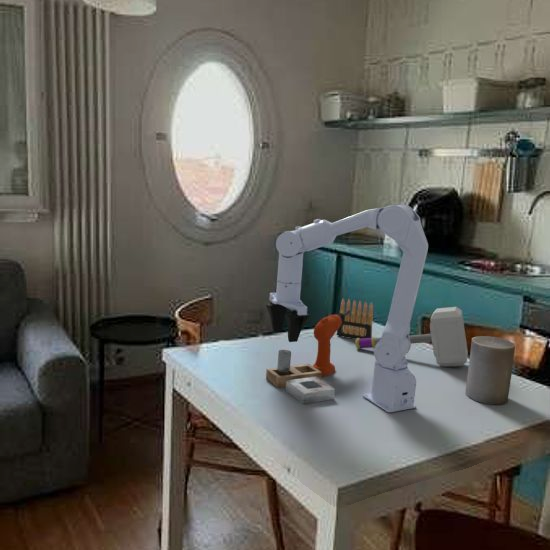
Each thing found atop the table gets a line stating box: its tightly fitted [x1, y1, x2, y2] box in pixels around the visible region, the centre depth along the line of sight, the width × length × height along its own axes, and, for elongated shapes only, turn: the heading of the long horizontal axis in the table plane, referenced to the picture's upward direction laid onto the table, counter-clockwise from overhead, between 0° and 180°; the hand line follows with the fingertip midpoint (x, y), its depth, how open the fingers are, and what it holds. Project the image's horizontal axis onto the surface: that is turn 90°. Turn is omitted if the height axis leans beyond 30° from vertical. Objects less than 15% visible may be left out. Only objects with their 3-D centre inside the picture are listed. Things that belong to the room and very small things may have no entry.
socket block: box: [285, 377, 336, 405], centre depth 128 cm, size 8×8×2 cm
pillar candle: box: [465, 335, 516, 406], centre depth 133 cm, size 10×10×15 cm
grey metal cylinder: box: [276, 349, 292, 376], centre depth 135 cm, size 3×3×8 cm
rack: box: [265, 363, 323, 388], centre depth 136 cm, size 12×6×2 cm, turn 118°
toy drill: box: [312, 309, 351, 377], centre depth 146 cm, size 5×19×15 cm, turn 148°
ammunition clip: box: [336, 298, 374, 340], centre depth 174 cm, size 11×2×12 cm, turn 69°
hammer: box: [354, 306, 469, 368], centre depth 159 cm, size 15×8×30 cm
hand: (284, 336), depth 136 cm, fingers open, 7 cm apart
